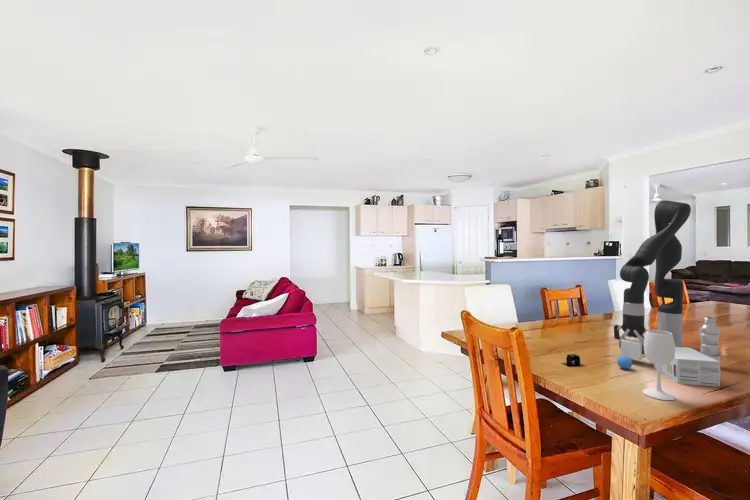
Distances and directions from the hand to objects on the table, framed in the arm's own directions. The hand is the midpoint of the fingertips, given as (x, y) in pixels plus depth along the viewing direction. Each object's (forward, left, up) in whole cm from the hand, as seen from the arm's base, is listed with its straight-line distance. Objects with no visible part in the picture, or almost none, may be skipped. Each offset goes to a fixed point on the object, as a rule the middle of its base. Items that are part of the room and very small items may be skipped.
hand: (633, 351), depth 152 cm
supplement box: (+5, +18, -5) cm, 19 cm away
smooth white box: (0, 0, -2) cm, 2 cm away
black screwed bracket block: (+23, -15, -5) cm, 28 cm away
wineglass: (+33, +16, -5) cm, 37 cm away
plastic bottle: (-17, +21, -5) cm, 28 cm away
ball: (+12, +1, -2) cm, 12 cm away
